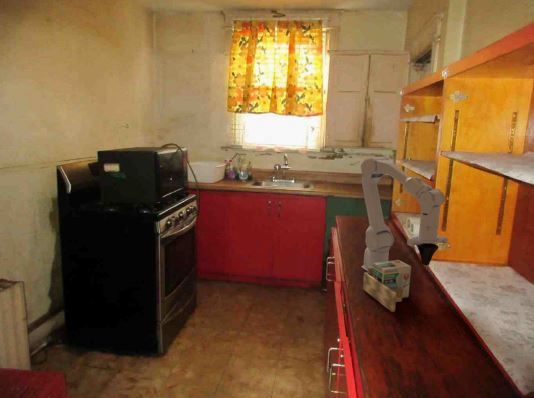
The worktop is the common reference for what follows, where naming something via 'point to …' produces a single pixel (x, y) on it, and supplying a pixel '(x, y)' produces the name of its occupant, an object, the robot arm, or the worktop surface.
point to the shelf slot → (381, 291)
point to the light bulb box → (393, 275)
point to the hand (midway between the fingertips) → (425, 264)
